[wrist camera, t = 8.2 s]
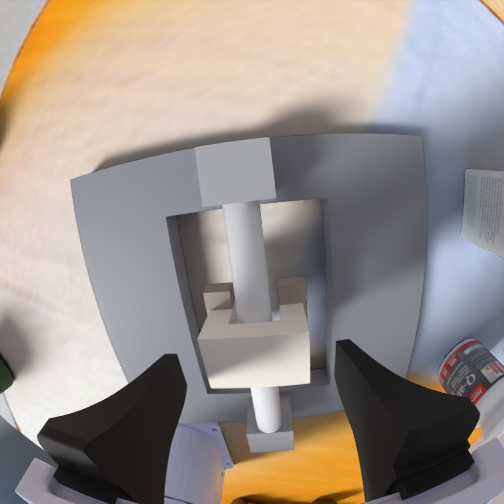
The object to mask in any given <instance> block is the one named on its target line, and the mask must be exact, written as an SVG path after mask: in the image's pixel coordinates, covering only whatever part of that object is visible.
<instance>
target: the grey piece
mask: <svg viewBox="0 0 504 504" xmlns="http://www.w3.org/2000/svg"><path fill="white" fill-rule="evenodd" d="M70 182H71V190H72V198H73V204H74V211H75V217H76V222H77V227H78V232H79V237H80V242H81V247H82V251H83V255H84V259H85V263H86V267H87V271H88V275H89V279H90V282H91V286H92V289H93V292H94V296H95V299H96V302H97V305H98V308H99V311H100V314H101V317H102V320H103V323H104V326H105V328H106V331H107V334H108V336H109V339H110V342H111V344H112V347H113V349H114V352H115V354H116V357H117V359H118V361H119V364H120V366H121V368H122V370H123V373H124V375H125V377H126V379H127V381H128V384H129V383H130V382H131V381H133V380H134V379H135V378H137V377H138V376H139V375H140V374H142V373H143V372H144V371H145V370H146V369H147V368H149V367H150V366H151V365H152V364H153V363H154V362H156V361H157V360H158V359H159V358H160V357H161V356H163V355H164V354H177V355H178V358H179V361H180V364H181V367H182V371H183V374H184V377H185V379H186V382H187V385H188V386H187V393H186V399H185V404H184V407H183V410H182V413H181V416H180V419H179V421H194V422H247V430H246V435H247V439H248V443H249V447H250V451H251V453H258V452H275V451H287V450H294V434H293V422H292V418H300V417H308V416H315V415H322V414H328V413H334V412H339V411H344V410H345V409H344V407H343V404H342V401H341V399H340V396H339V393H338V389H337V385H336V381H335V376H334V369H335V351H336V341H338V340H344V339H350V340H351V341H352V342H354V343H355V344H356V345H357V346H358V347H359V348H361V349H362V350H363V351H364V352H366V353H367V354H368V355H369V356H371V357H372V358H373V359H374V360H376V361H377V362H378V363H380V364H381V365H383V366H384V367H386V368H387V369H389V370H390V371H392V372H394V373H395V374H397V375H399V376H401V377H403V378H405V379H406V375H407V371H408V367H409V363H410V359H411V355H412V350H413V346H414V341H415V336H416V331H417V325H418V319H419V313H420V307H421V299H422V292H423V283H424V273H425V260H426V242H427V191H426V173H425V161H424V151H423V142H422V136H417V135H402V134H377V133H336V134H310V135H294V136H281V137H270V138H269V137H264V138H255V139H247V140H239V141H231V142H224V143H218V144H211V145H205V146H199V147H195V148H191V149H186V150H181V151H176V152H171V153H166V154H162V155H157V156H153V157H148V158H144V159H140V160H136V161H132V162H128V163H124V164H120V165H117V166H113V167H110V168H106V169H103V170H99V171H96V172H93V173H89V174H86V175H83V176H80V177H77V178H74V179H71V180H70ZM319 198H321V203H322V216H323V231H324V250H325V275H326V361H325V368H320V369H313V370H310V383H308V384H298V385H287V386H274V387H256V388H211V387H210V384H209V380H208V377H207V373H206V370H205V366H204V363H203V359H202V355H201V351H200V348H199V344H198V340H197V339H198V337H199V334H200V331H199V327H198V323H197V318H196V314H195V310H194V305H193V301H192V296H191V291H190V286H189V281H188V277H187V271H186V266H185V261H184V256H183V250H182V245H181V239H180V233H179V227H178V221H177V215H180V214H187V213H194V212H201V211H208V210H216V209H223V216H224V223H225V230H226V237H227V244H228V251H229V258H230V265H231V272H232V279H233V285H234V292H235V298H236V305H237V311H238V317H239V323H240V324H245V323H259V322H272V313H271V304H270V294H269V284H268V275H267V266H266V256H265V247H264V238H263V229H262V220H261V212H260V204H266V203H276V202H286V201H296V200H307V199H319Z"/></svg>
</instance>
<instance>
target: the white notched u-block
mask: <svg viewBox="0 0 504 504" xmlns="http://www.w3.org/2000/svg"><path fill="white" fill-rule="evenodd" d="M277 285H278V297H279V309H280V321H272V322H259V323H245V324H239V319H238V313H237V306H236V300H235V294H234V287H233V282H231V283H218V284H208V285H207V287H206V288H205V290H204V292H203V296H204V301H205V306H206V311H207V318H206V321H205V323H204V325H203V327H202V330H201V332H200V334H199V337H198V339H197V340H198V344H199V348H200V351H201V355H202V359H203V363H204V366H205V370H206V373H207V377H208V380H209V384H210V387H211V388H256V387H274V386H287V385H298V384H308V383H310V334H309V328H308V321H307V298H306V283H305V280H304V277H303V276H296V277H286V278H277Z"/></svg>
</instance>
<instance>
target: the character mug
mask: <svg viewBox="0 0 504 504" xmlns="http://www.w3.org/2000/svg"><path fill="white" fill-rule="evenodd" d="M12 384H13V378H12V375H11V373H10V372H9V370H8V369H7V367H6V366H5V364H4V363H3V362H2V361H1V359H0V394H1V393H2V392H4V391H5V390H6V389H8V388H9V387H10V386H11V385H12Z"/></svg>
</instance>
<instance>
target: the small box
mask: <svg viewBox="0 0 504 504" xmlns="http://www.w3.org/2000/svg"><path fill="white" fill-rule="evenodd" d="M460 238H461V239H463V240H466V241H468V242H470V243H472V244H475V245H477V246H479V247H482V248H484V249H486V250H488V251H491V252H493V253H495V254H497V255H499V256H501V257H503V258H504V171H495V170H477V169H465V191H464V206H463V217H462V226H461V234H460Z"/></svg>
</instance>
